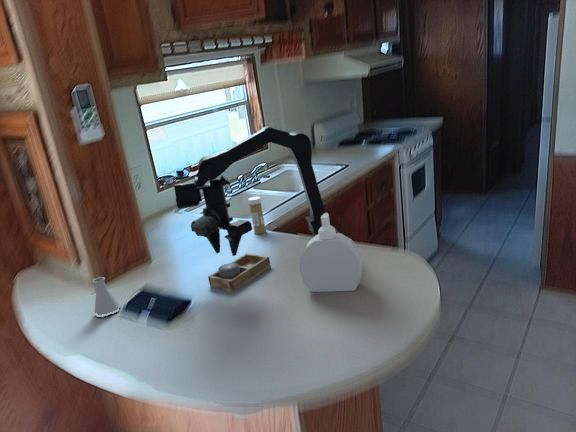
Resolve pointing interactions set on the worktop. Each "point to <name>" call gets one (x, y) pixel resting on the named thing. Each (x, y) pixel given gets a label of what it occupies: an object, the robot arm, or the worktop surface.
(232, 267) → the lid
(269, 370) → the worktop surface
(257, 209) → the sprinkles bottle
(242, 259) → the holder
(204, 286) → the worktop surface
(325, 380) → the worktop surface
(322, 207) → the robot arm
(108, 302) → the flask
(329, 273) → the soap bottle
